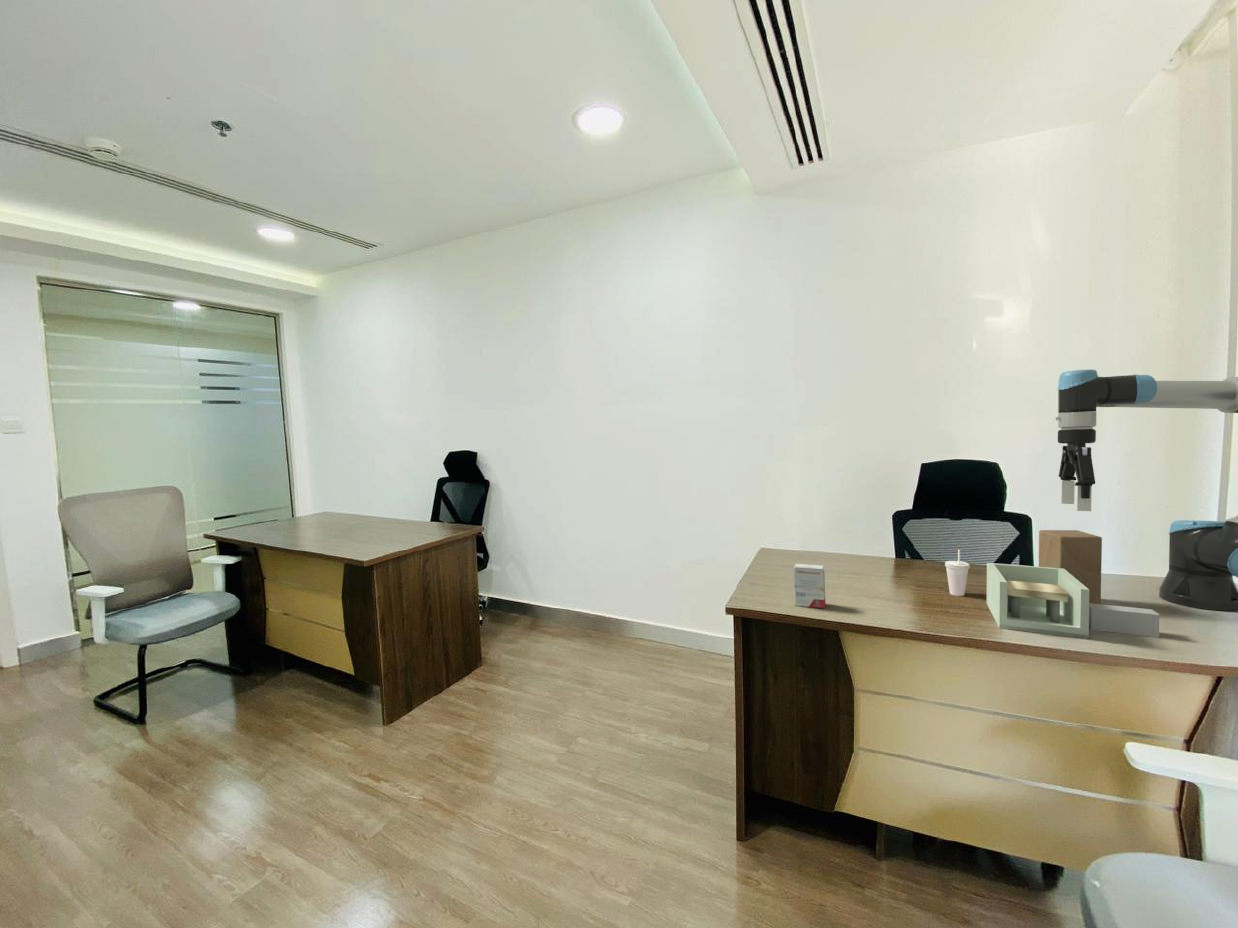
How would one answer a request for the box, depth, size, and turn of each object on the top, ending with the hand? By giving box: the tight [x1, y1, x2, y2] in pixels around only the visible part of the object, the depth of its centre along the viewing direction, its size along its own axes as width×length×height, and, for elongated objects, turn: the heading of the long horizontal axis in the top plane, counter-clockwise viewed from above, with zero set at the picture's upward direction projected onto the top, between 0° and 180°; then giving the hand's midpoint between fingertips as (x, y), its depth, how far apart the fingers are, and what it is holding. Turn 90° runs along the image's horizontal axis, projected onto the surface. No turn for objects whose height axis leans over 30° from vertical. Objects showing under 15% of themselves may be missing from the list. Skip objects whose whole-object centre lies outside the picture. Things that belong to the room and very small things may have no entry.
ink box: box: [793, 563, 826, 609], centre depth 147 cm, size 9×5×12 cm, turn 65°
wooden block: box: [1038, 529, 1103, 604], centre depth 142 cm, size 10×10×20 cm
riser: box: [1089, 603, 1160, 639], centre depth 122 cm, size 12×4×6 cm, turn 61°
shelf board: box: [1006, 580, 1068, 602], centre depth 130 cm, size 12×8×2 cm, turn 61°
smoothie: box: [944, 548, 971, 597], centre depth 152 cm, size 6×6×14 cm
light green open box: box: [986, 562, 1090, 640], centre depth 130 cm, size 17×20×12 cm
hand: (1075, 507), depth 134 cm, fingers open, 13 cm apart
